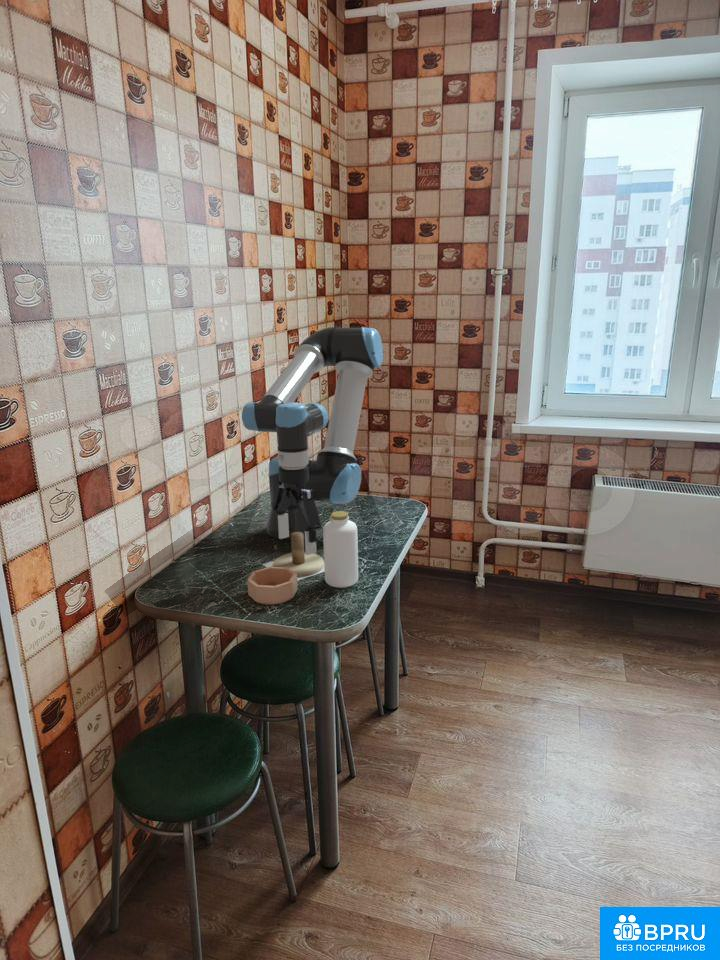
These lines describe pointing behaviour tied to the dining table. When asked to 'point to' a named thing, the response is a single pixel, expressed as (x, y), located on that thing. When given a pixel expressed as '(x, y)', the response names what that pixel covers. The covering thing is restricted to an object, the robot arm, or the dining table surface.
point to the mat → (297, 577)
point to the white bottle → (340, 551)
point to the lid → (300, 558)
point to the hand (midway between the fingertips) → (297, 545)
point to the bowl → (272, 585)
